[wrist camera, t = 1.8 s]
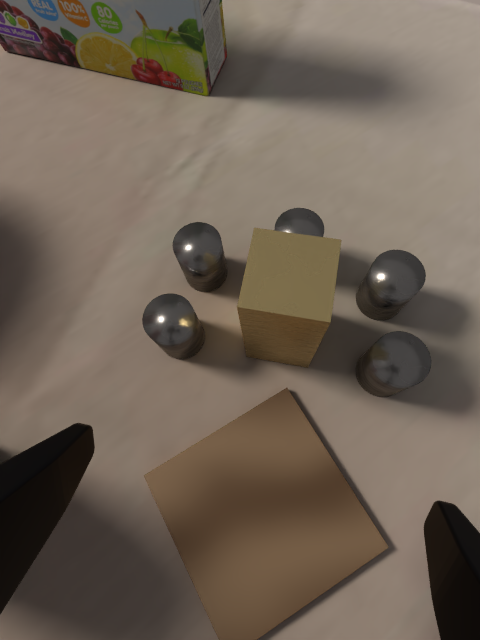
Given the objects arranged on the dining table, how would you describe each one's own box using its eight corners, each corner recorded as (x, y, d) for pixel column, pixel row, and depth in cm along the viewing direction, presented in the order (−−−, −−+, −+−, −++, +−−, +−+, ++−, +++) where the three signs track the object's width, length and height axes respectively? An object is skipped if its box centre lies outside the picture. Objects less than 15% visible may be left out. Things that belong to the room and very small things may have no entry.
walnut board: (385, 545, 21) (388, 547, 20) (229, 654, 20) (228, 659, 19) (286, 388, 24) (286, 387, 23) (146, 475, 23) (143, 475, 22)
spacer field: (403, 401, 23) (430, 391, 19) (155, 354, 25) (136, 337, 21) (412, 257, 26) (436, 225, 22) (191, 226, 28) (179, 192, 24)
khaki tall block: (307, 367, 24) (330, 322, 16) (246, 356, 25) (237, 307, 16) (316, 310, 25) (341, 239, 17) (257, 300, 26) (254, 227, 18)
